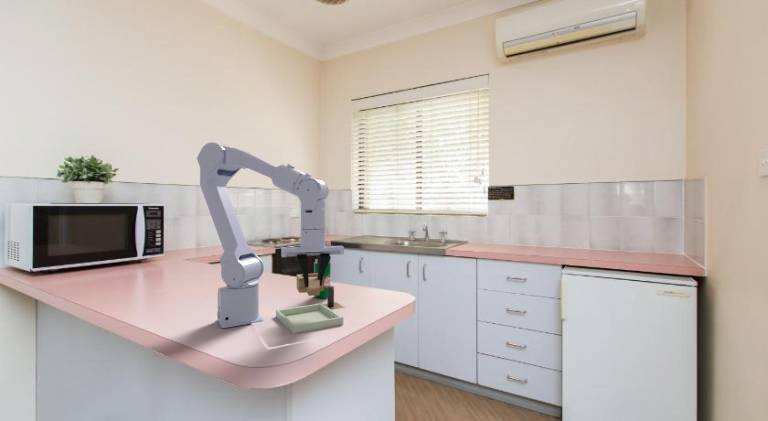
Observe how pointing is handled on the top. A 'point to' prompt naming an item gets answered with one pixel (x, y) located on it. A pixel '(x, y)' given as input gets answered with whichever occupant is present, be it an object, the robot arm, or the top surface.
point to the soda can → (326, 280)
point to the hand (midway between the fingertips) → (313, 285)
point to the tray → (308, 318)
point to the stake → (332, 299)
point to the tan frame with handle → (310, 284)
